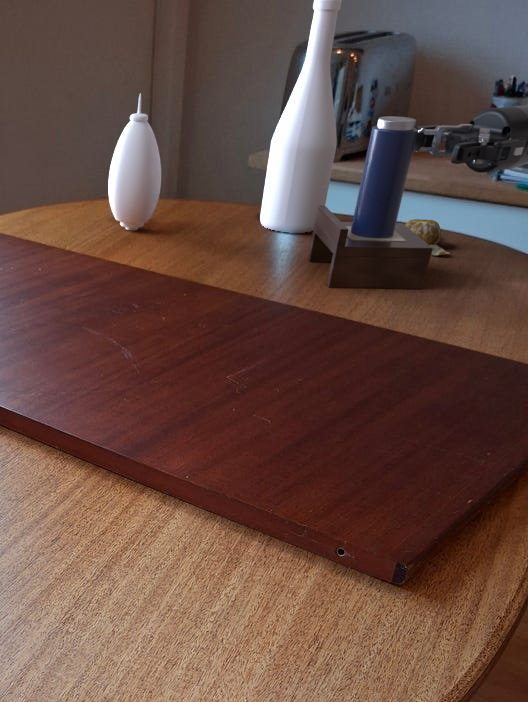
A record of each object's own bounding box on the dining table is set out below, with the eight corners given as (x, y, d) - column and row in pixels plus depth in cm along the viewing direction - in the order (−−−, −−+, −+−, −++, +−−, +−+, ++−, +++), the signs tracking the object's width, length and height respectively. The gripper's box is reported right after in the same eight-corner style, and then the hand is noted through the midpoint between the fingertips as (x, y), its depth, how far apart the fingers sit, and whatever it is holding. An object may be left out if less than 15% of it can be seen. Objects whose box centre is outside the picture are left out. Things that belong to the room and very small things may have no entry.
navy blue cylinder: (386, 228, 117) (412, 116, 109) (398, 238, 113) (426, 122, 105) (346, 227, 117) (369, 115, 109) (356, 237, 113) (381, 121, 105)
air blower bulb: (162, 225, 137) (174, 91, 126) (149, 237, 132) (160, 97, 121) (115, 220, 140) (122, 88, 128) (99, 232, 134) (106, 94, 123)
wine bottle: (263, 217, 142) (298, -12, 124) (323, 223, 140) (368, -11, 121) (254, 231, 135) (289, -10, 117) (317, 237, 133) (363, -9, 114)
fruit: (390, 253, 126) (396, 226, 124) (386, 239, 132) (392, 213, 130) (450, 258, 125) (458, 230, 122) (444, 243, 131) (451, 217, 129)
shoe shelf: (393, 261, 123) (406, 207, 119) (422, 289, 113) (437, 231, 108) (307, 259, 123) (317, 205, 119) (328, 287, 113) (340, 229, 109)
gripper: (470, 99, 122) (391, 107, 115) (564, 113, 112) (484, 123, 105) (454, 160, 126) (376, 171, 119) (543, 178, 117) (465, 191, 110)
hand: (427, 148), depth 112 cm, fingers open, 8 cm apart
